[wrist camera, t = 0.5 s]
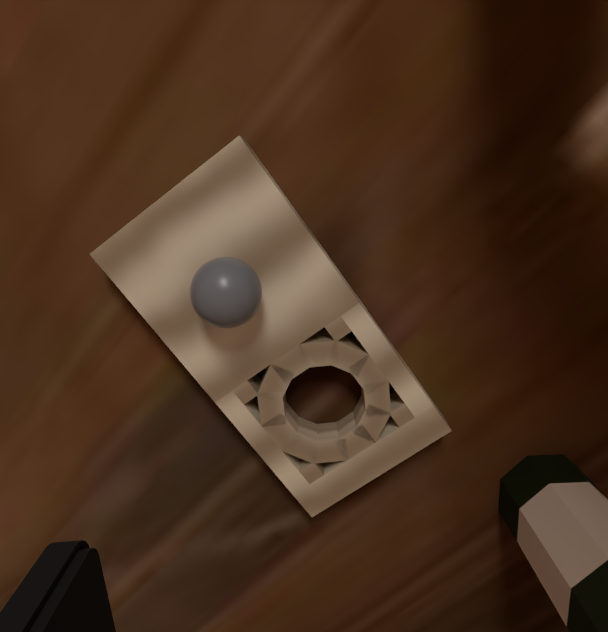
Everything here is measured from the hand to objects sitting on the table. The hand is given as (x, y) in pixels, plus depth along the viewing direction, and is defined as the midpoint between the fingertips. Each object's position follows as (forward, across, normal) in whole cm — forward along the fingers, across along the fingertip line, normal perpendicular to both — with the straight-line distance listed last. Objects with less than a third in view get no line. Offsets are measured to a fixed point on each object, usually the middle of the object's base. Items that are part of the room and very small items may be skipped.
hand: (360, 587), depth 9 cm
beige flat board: (+33, +3, +5) cm, 33 cm away
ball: (+27, +6, 0) cm, 28 cm away
